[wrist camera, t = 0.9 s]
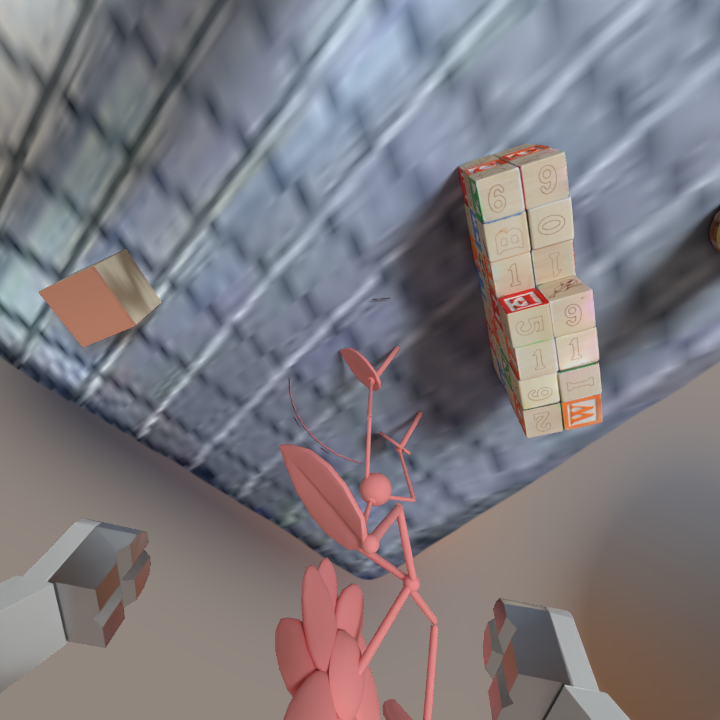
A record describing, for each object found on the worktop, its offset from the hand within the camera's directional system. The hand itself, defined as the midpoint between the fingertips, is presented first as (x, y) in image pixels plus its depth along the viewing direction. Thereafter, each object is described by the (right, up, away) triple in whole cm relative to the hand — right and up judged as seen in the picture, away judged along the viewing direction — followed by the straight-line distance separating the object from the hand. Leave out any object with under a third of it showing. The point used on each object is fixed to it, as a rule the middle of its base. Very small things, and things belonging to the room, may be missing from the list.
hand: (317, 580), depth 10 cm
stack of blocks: (+15, +14, +33) cm, 39 cm away
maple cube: (-23, +13, +35) cm, 44 cm away
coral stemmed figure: (0, +1, +40) cm, 40 cm away
